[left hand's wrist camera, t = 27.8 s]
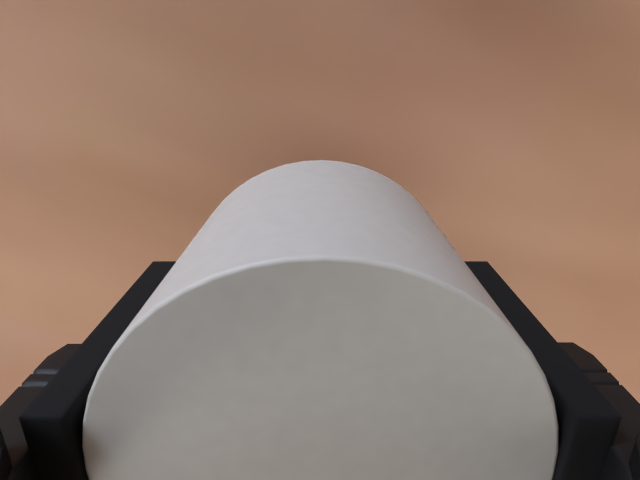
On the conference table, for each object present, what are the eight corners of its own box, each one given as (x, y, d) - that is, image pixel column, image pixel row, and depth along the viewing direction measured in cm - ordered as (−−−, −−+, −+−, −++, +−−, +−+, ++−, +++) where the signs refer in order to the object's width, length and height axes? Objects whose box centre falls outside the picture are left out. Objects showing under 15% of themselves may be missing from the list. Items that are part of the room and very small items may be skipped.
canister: (376, 106, 13) (441, 150, 6) (486, 327, 16) (620, 535, 9) (140, 241, 15) (-27, 401, 8) (277, 421, 17) (249, 663, 10)
